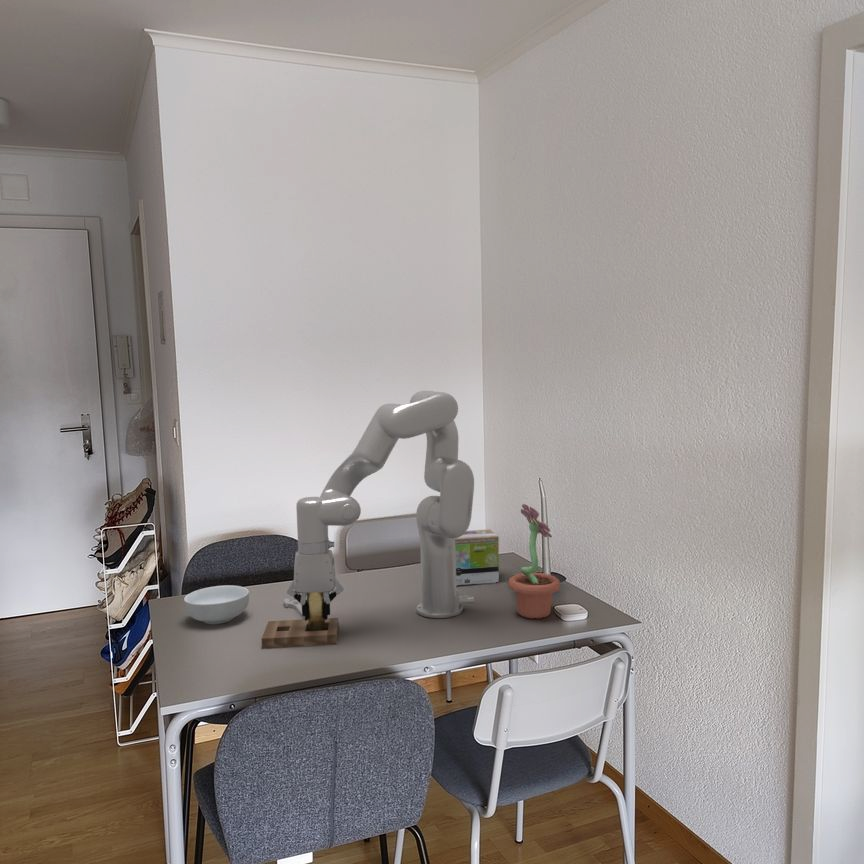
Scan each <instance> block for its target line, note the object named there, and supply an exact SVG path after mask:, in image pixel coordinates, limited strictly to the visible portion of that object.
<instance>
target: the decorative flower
mask: <svg viewBox="0 0 864 864" xmlns="http://www.w3.org/2000/svg"><path fill="white" fill-rule="evenodd" d="M520 513H521V514H522V516H524V517H525V518H526V520H527V522H528V528H529V531H530V534H529V542H528V544H529V545H528V547H529V548H528V549H529V555H530V559H531V562H530V563H531V565H530V566H523V567H520V566H517V565H516V564H514V563H512V565H513V566H515V567H516V568H520V572H521V573H517V574H514V575H512V576H510V578H509V579H508V581H507V586H508V589H510V590H511V591H513V592H515V594H516V595H515V597H516V609H517V613H518V614H519V615H520V616H521V617H524V618H526V619H534V618H536V619H543V617H544V618H547V617H548V616H549V615H550V614H551V610H552V602H553V601H552V600H553V593H557V592H558V591H560V590H561V585H562V584H561V581H560V579H558V577H557V576H554V575H551V574H548V573H544V572H543V573H542V571H541V570H540V567H539V558H538V553H537V545H536V544H537V537H538V535H540V534H541V536H543V537H544V538H548V537H549V538H552V537H553V536H552V534H551V533H550V532H551V530H550V528H549V526H548V525H547V523H545V522H542V521H540V520H539V519H538V518H539V516H540V513H539V511H538V510H536V509H535V508H534V507H532V506H529V504H526V503H522V505H521V509H520ZM537 571H538V572H537Z"/></svg>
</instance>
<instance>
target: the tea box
mask: <svg viewBox="0 0 864 864" xmlns="http://www.w3.org/2000/svg"><path fill="white" fill-rule="evenodd" d="M499 539H500V538H499V536H498V535H497V534H496V533H495V532H493V531H492V530H491V529H474V530H467V531H466V532H465V533H464V534H463V535H462V536H461V537H458V538H454V540H455V547H456V586H464V585H465V586H466V585H479V584H497V583H496V582H498V583H499V580H500V579H499V578H500V577H499V576H500V572H499V571H500V564H499V563H500V562H499V549H500V544H499Z"/></svg>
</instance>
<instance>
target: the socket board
mask: <svg viewBox="0 0 864 864" xmlns="http://www.w3.org/2000/svg"><path fill="white" fill-rule="evenodd" d="M339 627H340V621H339V617H328V618H327V620H325V629H324V630H322V631H309V629H308V620H307V621H305V619H303V618H302V619H287V620H284V619H283V620H271V621H270V620H269V621H268V622H267V624H266V626H265V629H264V631H263V633H262V636H261V649H277V648H278V649H279V648H280V649H281V648H293V647H294V648H297V647H315V646H331V645H337V644H338V635H339Z"/></svg>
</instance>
